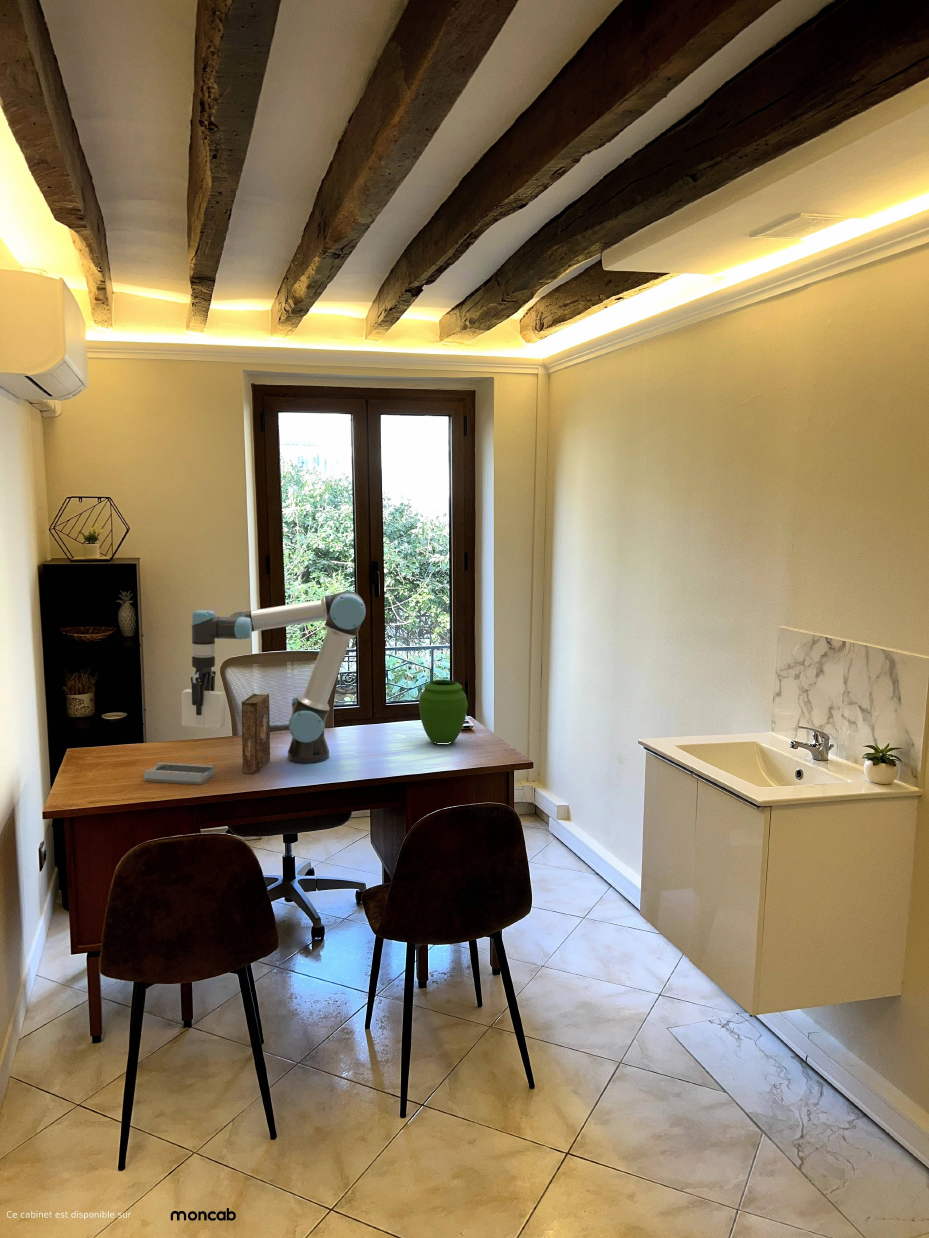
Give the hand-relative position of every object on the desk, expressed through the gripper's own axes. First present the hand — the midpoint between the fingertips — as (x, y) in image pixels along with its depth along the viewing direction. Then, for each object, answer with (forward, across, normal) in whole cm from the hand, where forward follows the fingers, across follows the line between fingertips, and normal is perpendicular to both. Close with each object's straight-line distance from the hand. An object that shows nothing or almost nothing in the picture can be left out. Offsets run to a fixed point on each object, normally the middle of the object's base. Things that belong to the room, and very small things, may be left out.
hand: (203, 722), depth 281 cm
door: (+1, 0, 0) cm, 1 cm away
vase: (+16, -55, +73) cm, 93 cm away
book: (+17, -8, +16) cm, 25 cm away
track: (+18, +9, -4) cm, 20 cm away
